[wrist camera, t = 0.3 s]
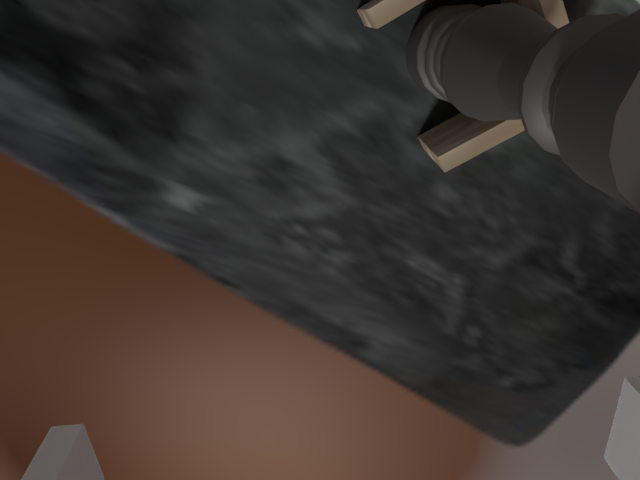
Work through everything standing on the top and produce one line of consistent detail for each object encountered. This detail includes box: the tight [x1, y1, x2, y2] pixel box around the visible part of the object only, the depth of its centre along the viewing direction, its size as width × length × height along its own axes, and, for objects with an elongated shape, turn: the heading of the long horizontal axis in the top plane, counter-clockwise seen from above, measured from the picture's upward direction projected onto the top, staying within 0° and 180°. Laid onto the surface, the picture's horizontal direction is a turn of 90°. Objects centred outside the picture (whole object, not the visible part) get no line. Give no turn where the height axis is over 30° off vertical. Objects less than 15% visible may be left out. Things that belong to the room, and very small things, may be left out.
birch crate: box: [357, 0, 569, 172], centre depth 32 cm, size 11×10×6 cm
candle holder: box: [406, 3, 640, 213], centre depth 24 cm, size 6×6×25 cm
